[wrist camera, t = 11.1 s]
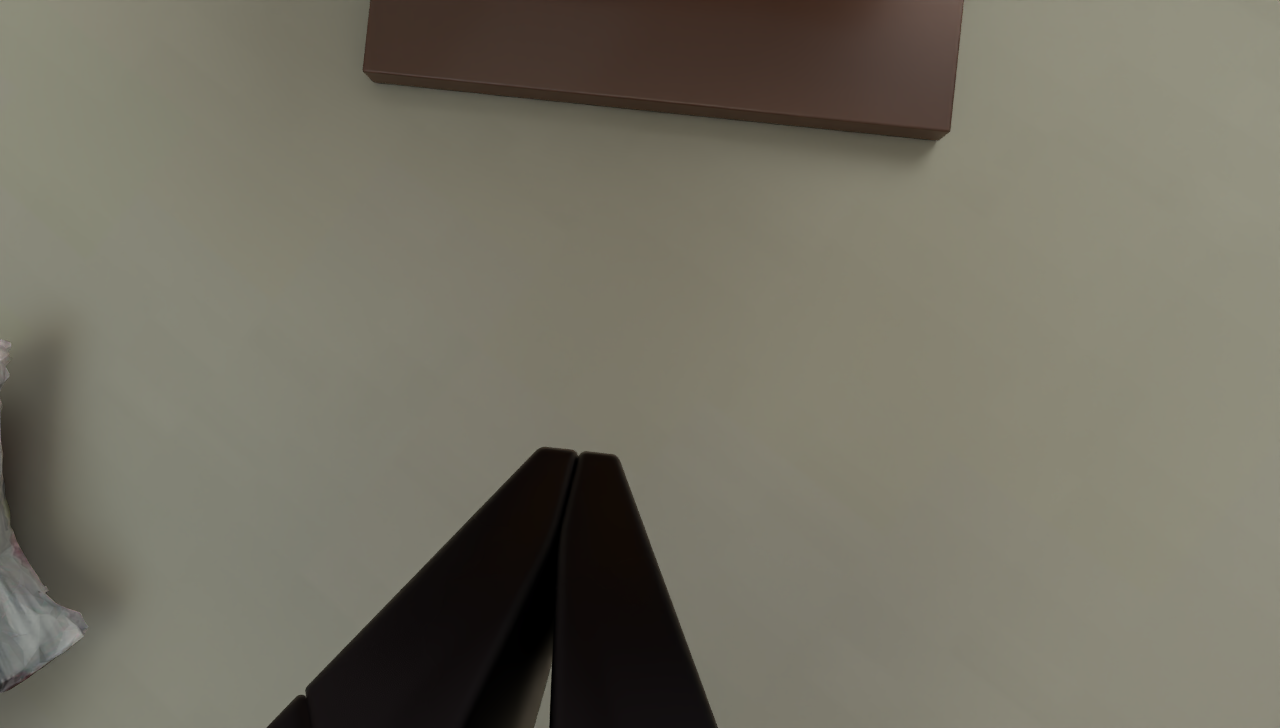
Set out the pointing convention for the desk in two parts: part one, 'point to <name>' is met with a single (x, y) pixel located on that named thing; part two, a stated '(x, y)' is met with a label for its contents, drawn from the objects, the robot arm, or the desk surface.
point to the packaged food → (26, 598)
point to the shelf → (688, 56)
